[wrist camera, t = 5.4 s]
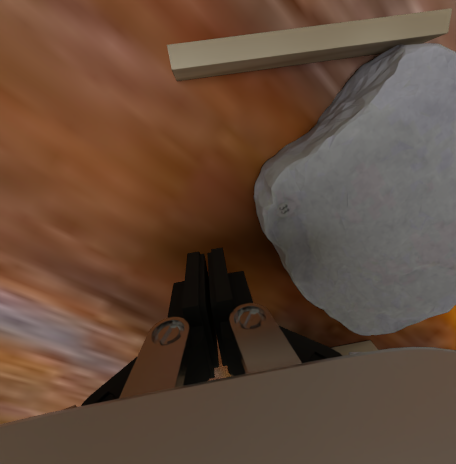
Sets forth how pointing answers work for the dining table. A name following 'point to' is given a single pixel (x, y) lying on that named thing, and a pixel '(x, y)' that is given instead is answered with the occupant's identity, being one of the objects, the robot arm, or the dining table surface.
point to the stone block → (372, 195)
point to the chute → (306, 56)
